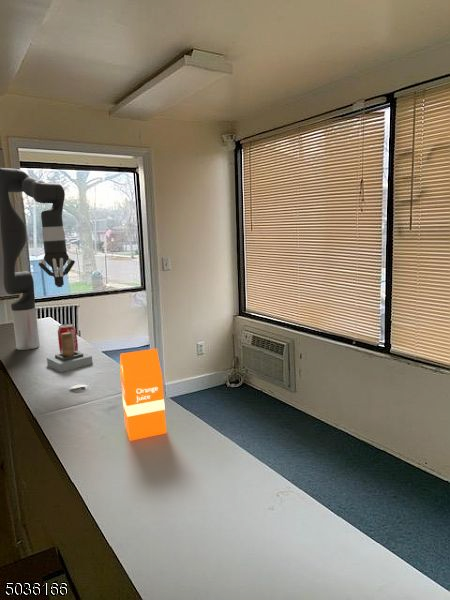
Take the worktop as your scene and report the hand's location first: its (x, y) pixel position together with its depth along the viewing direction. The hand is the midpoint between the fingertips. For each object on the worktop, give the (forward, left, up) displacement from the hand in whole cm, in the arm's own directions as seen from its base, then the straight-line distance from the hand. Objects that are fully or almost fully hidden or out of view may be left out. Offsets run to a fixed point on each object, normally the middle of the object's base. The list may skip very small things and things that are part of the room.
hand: (59, 286), depth 159 cm
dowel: (+4, -1, -29) cm, 29 cm away
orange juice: (+71, -12, -29) cm, 78 cm away
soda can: (-10, +5, -29) cm, 31 cm away
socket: (+4, -1, -29) cm, 29 cm away
